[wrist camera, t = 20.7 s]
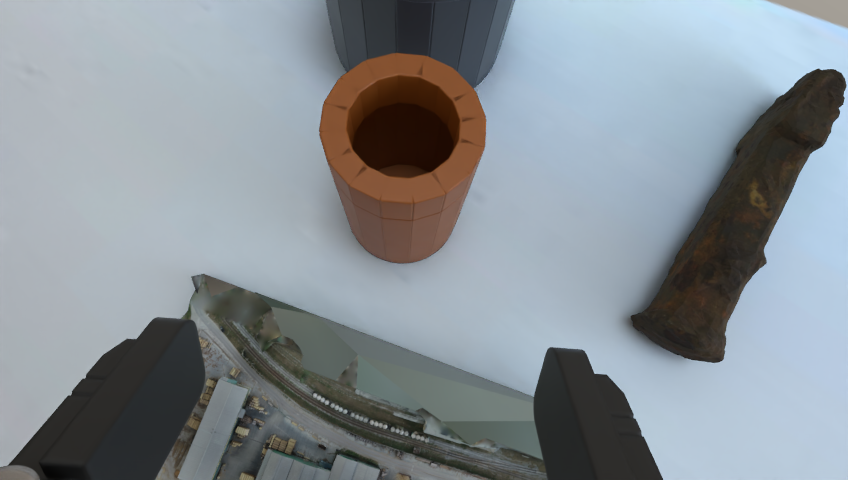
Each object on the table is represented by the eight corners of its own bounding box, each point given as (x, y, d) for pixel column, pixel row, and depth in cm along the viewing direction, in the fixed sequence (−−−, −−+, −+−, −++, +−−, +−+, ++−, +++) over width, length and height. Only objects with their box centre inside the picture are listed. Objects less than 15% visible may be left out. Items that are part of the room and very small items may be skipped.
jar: (342, 258, 26) (309, 194, 16) (355, 157, 28) (331, 45, 18) (452, 268, 26) (482, 209, 17) (458, 167, 28) (489, 60, 18)
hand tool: (681, 369, 25) (741, 370, 21) (618, 324, 26) (665, 315, 21) (821, 123, 30) (896, 80, 25) (766, 88, 30) (830, 40, 26)
